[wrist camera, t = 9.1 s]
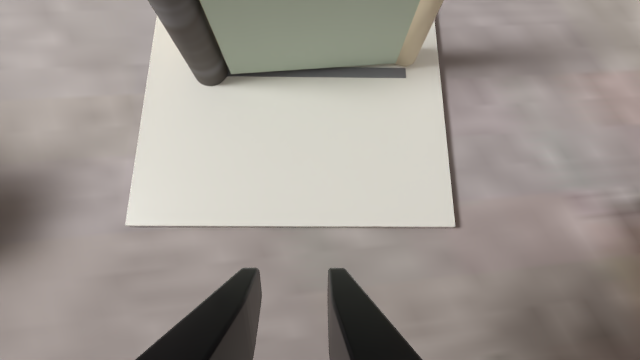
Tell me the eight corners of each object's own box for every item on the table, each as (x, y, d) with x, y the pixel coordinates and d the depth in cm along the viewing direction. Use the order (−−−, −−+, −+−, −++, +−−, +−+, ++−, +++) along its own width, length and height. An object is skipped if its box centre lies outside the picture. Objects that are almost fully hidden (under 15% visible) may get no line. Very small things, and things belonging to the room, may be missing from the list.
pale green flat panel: (418, 65, 24) (499, -99, 14) (231, 77, 24) (162, -82, 13) (414, 44, 25) (489, -131, 14) (230, 55, 24) (164, -116, 14)
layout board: (452, 227, 22) (455, 226, 22) (129, 226, 22) (124, 225, 22) (421, -84, 29) (423, -90, 29) (175, -88, 29) (172, -94, 28)
